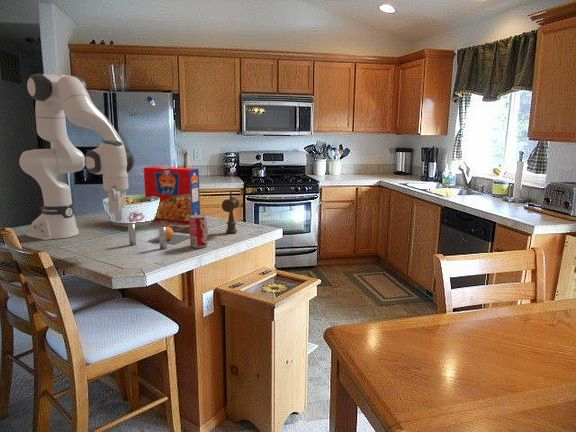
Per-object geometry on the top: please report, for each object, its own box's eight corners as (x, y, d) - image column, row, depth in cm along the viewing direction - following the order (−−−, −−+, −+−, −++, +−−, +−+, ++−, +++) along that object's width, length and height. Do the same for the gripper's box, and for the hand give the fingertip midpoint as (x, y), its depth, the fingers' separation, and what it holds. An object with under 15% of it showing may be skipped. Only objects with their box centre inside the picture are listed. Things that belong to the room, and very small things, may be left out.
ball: (161, 223, 186) (169, 229, 191) (154, 234, 184) (162, 240, 189) (170, 226, 183) (178, 232, 188) (163, 238, 181) (171, 244, 186)
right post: (158, 249, 173) (157, 227, 171) (162, 247, 176) (161, 226, 174) (164, 249, 172) (163, 228, 170) (167, 248, 175) (166, 226, 173)
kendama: (222, 234, 197) (221, 192, 193) (228, 230, 206) (227, 189, 202) (234, 235, 196) (233, 192, 192) (240, 230, 205) (240, 189, 201)
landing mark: (147, 241, 185) (147, 240, 184) (166, 233, 198) (166, 233, 197) (175, 244, 180) (175, 243, 180) (192, 236, 193) (192, 236, 193)
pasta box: (146, 220, 227) (143, 167, 221) (156, 217, 234) (153, 166, 228) (192, 224, 217) (189, 169, 211) (200, 221, 224) (198, 168, 219)
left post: (128, 245, 178) (126, 224, 176) (132, 243, 180) (130, 223, 178) (133, 246, 177) (131, 225, 175) (137, 244, 180) (136, 223, 178)
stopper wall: (168, 230, 204) (168, 225, 204) (171, 229, 206) (170, 224, 205) (205, 234, 198) (205, 228, 197) (207, 233, 199) (207, 228, 199)
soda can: (203, 249, 173) (202, 218, 171) (187, 248, 175) (186, 217, 172) (210, 244, 180) (209, 214, 178) (194, 243, 182) (193, 213, 179)
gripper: (121, 188, 150) (124, 226, 153) (127, 181, 170) (130, 215, 173) (102, 188, 149) (105, 227, 152) (110, 181, 168) (113, 215, 171)
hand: (118, 220), depth 162 cm, fingers closed
